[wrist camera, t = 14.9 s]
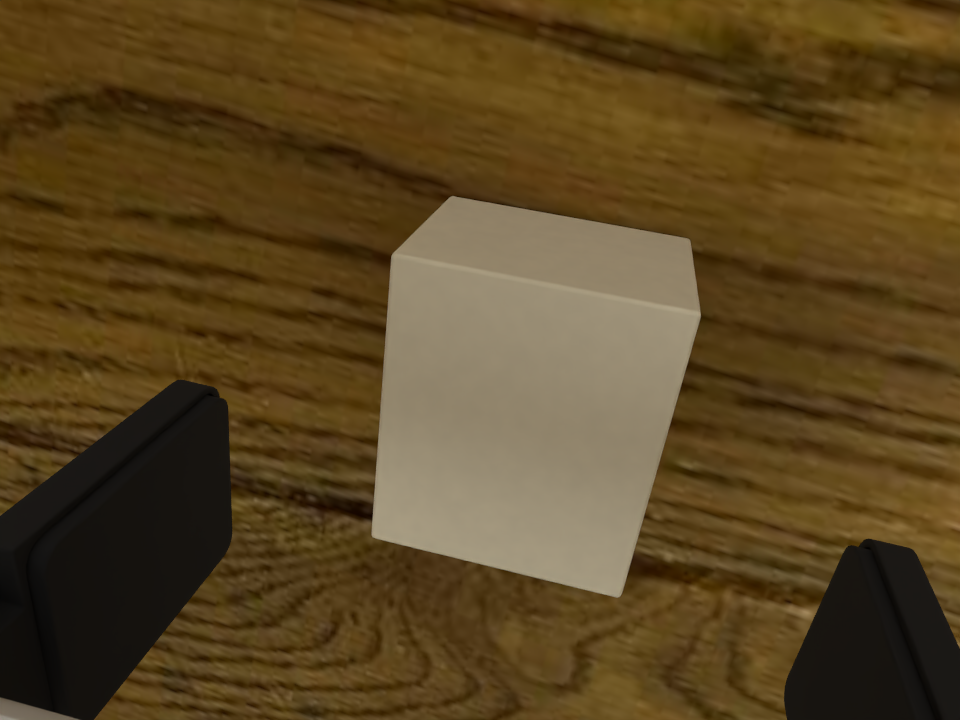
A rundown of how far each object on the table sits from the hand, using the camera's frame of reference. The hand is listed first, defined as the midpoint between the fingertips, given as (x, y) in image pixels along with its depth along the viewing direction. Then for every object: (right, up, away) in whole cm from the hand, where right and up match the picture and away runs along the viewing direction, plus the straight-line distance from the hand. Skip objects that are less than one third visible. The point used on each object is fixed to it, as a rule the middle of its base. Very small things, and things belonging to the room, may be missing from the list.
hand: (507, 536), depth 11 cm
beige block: (+1, +3, +5) cm, 6 cm away
